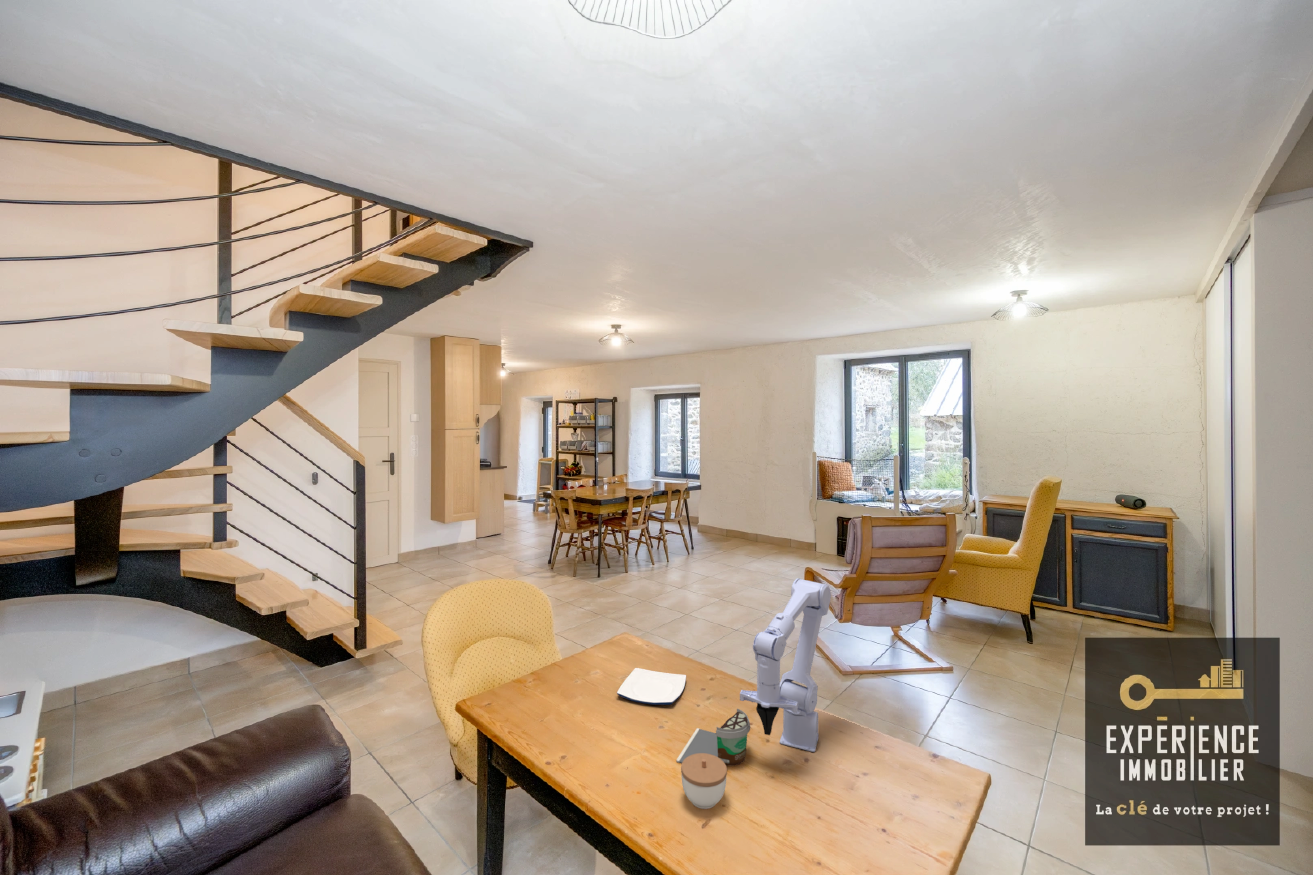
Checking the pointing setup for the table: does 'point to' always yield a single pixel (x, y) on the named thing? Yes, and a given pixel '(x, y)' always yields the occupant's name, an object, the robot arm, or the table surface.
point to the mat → (700, 744)
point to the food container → (733, 739)
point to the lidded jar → (703, 779)
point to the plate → (652, 687)
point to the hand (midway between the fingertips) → (767, 732)
